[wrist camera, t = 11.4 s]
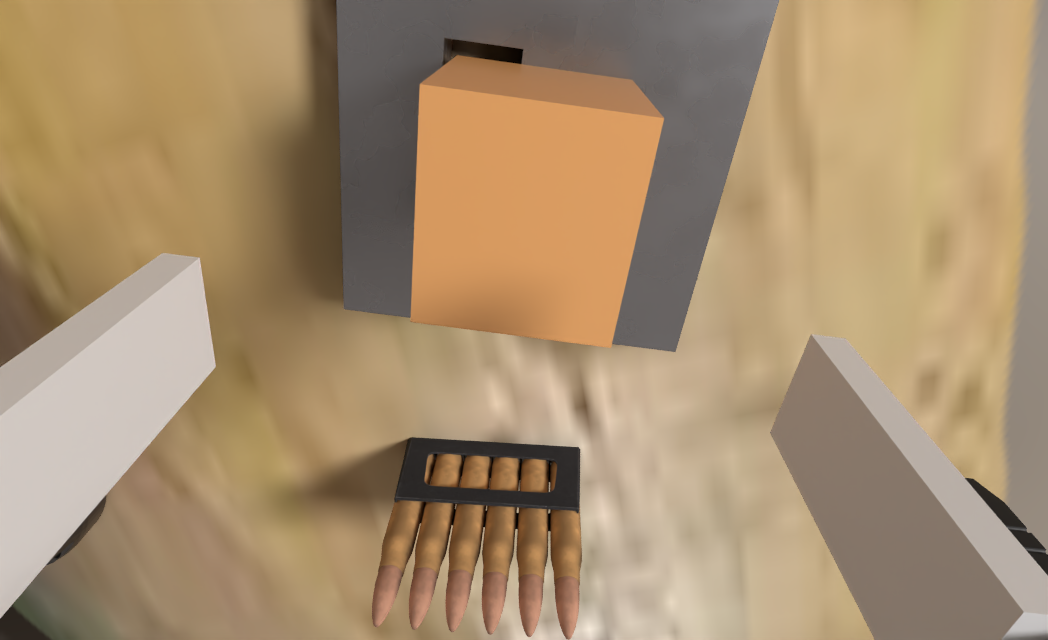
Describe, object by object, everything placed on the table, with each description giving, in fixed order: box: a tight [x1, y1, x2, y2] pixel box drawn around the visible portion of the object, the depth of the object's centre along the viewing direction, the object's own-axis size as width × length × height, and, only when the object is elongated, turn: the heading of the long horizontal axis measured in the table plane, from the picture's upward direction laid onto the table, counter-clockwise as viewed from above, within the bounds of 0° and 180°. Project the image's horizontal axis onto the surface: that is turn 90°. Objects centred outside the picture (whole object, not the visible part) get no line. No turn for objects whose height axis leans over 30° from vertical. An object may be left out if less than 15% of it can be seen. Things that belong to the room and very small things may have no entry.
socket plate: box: [336, 0, 779, 352], centre depth 28 cm, size 17×17×2 cm
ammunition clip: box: [372, 437, 582, 640], centre depth 33 cm, size 11×2×12 cm, turn 88°
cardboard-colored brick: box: [411, 55, 664, 348], centre depth 24 cm, size 7×8×10 cm
